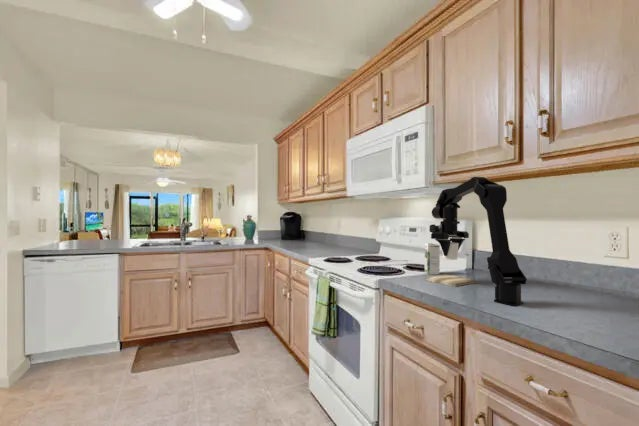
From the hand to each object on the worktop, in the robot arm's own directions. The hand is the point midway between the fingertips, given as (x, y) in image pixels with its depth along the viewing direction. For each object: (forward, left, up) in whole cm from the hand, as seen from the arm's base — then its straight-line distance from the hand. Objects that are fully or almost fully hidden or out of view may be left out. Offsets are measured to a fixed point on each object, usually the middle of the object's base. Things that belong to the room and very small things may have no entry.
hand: (450, 255), depth 135 cm
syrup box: (+16, -9, -12) cm, 22 cm away
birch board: (0, 0, -11) cm, 11 cm away
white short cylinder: (0, 0, -2) cm, 2 cm away
